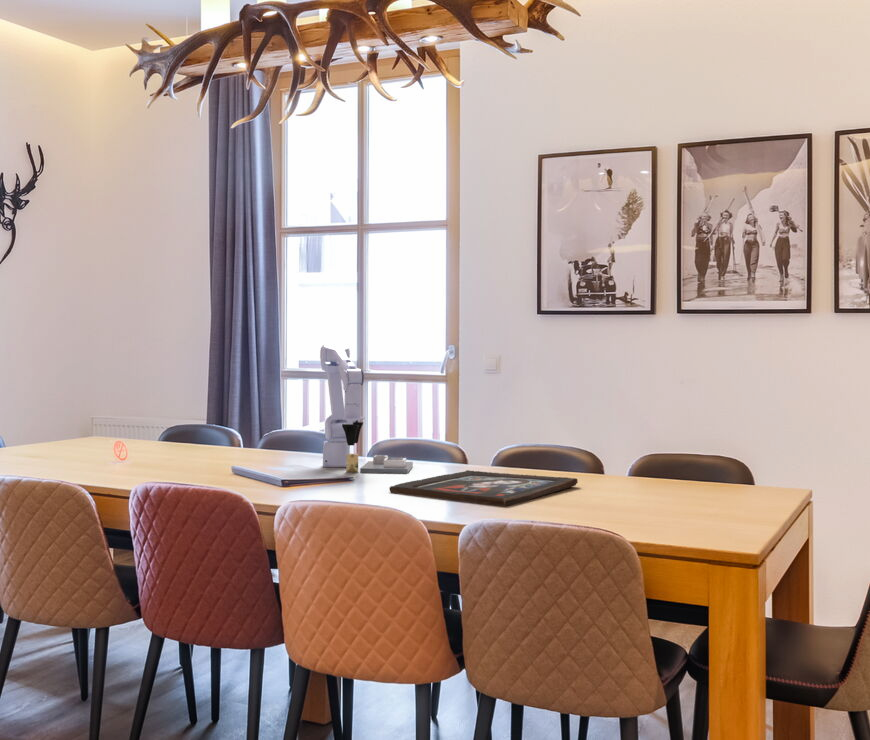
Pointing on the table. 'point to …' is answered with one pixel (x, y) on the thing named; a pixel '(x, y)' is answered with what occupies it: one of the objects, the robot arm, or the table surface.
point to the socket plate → (386, 465)
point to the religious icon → (485, 487)
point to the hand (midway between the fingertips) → (352, 444)
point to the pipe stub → (352, 463)
